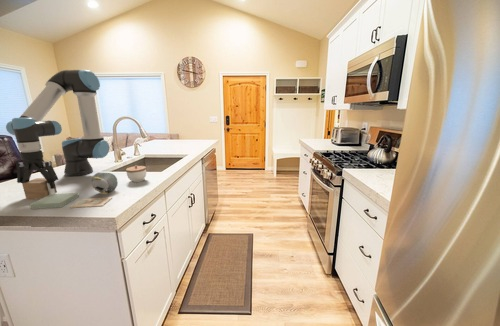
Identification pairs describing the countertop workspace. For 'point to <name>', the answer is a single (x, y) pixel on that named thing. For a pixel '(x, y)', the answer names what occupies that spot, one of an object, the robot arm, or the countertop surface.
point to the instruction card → (91, 202)
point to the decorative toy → (104, 182)
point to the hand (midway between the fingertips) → (41, 195)
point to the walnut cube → (36, 188)
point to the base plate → (54, 200)
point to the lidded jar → (136, 173)
